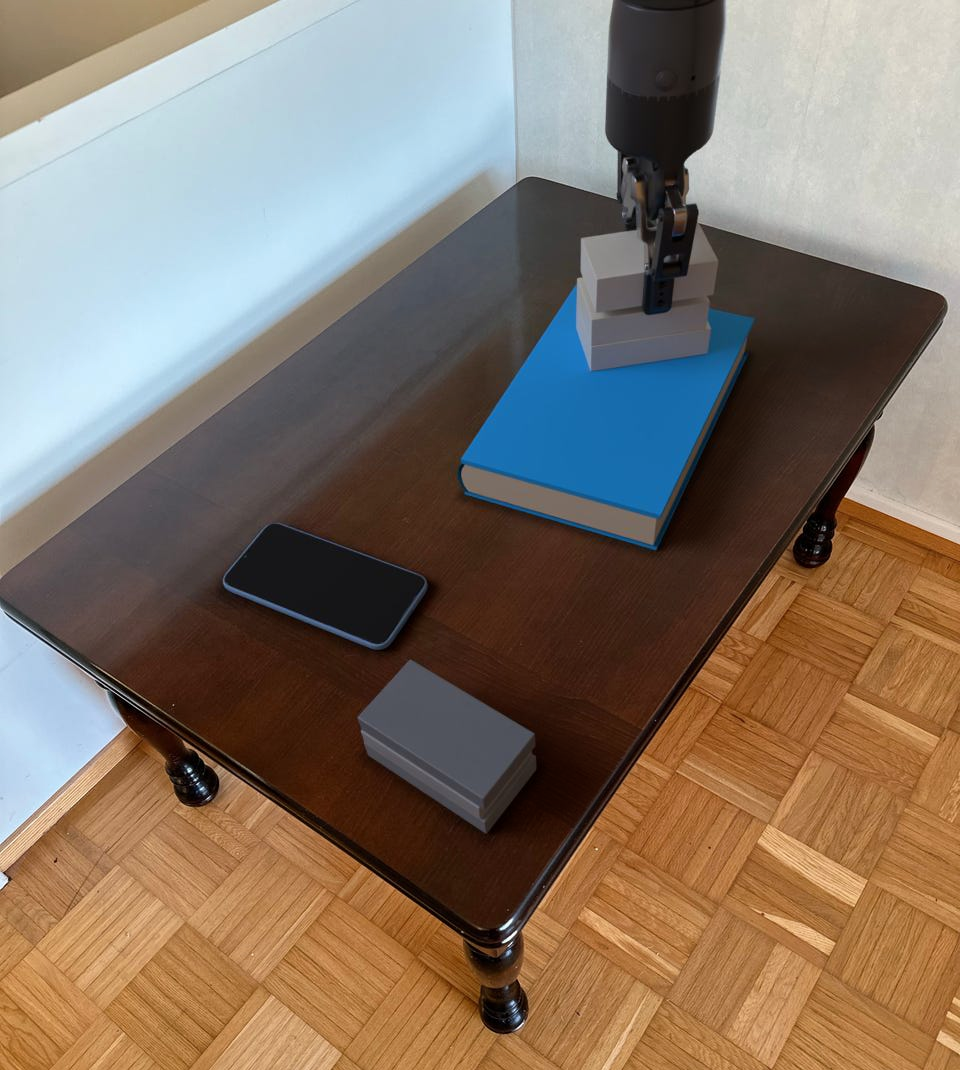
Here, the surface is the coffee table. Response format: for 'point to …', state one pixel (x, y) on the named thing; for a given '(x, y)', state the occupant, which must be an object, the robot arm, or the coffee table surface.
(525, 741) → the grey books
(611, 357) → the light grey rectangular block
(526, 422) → the book
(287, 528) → the smartphone
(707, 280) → the light grey block
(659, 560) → the coffee table surface
